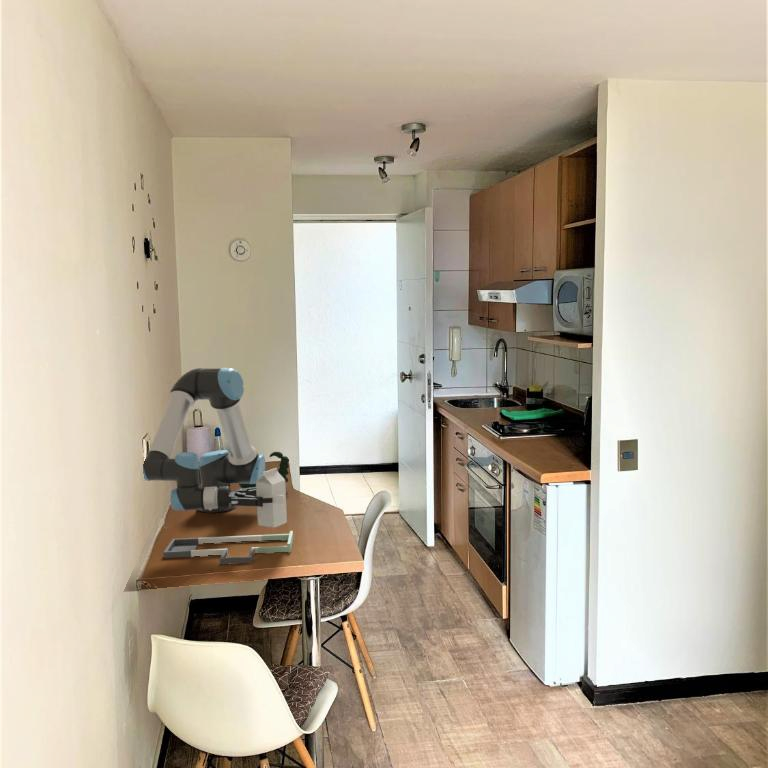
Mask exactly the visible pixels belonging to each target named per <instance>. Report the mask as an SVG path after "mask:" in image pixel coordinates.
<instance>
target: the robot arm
mask: <svg viewBox="0 0 768 768" xmlns="http://www.w3.org/2000/svg"><path fill="white" fill-rule="evenodd" d="M244 388H245V387H244V380H243V377H242V374H241V373H240V372H239V371H238V370H237V369H235V368H230V367H222V368H201V367H200V368H194V369H191V370H189V371H187V372H185V373H183V375H182V376H181V377H180V378H179V379H177V381H176V382H175V383H174V384H173V386H172V388H171V389H170V392H169V395H168V404H167V406H166V408H165V411H164V413H163V415H162V419H161V420H160V423H159V425H158V428H157V430H156V432H155V435H154V438H153V439H152V442H151V445H150V448H149V450H148V452H147V454H146V456H147V457H145V458H146V459H145V461H144V464H143V474H144V479H145V480H144V481H147V482H149V481H165V482H176V488H172V490H171V492H170V505H171V508H172V510H174V511H185V512H186V511H196V510H197V511H199V512H201V513H210V514H211V513H213V514H214V513H222V512H227V511H231V510H233V509H235V508H237V507H238V506H239V507H257V506H258V507H259V506H260V507H263V504H282V503H283V495H270V496H263V497H259V496H257V494H256V487H253V488H236V489H235V491H232V488H231V484H238V485H239V484H256V482H257V481H258V480H259V479H260V478H261V477H262V475H263V472H265V471H266V458H265V456H264V455H263V454H258V451H257V449H256V447H254V446H253V445H252V444H251V441H250V438H249V435H248V431H247V428H246V427H247V426H246V423H245V420H244V417H243V413H242V410H241V407H240V404H239V403H240V401H241V398H242V397H243V395H244V391H245V389H244ZM198 400H200V401H201V400H205V401H207V400H208V402H209V404H210V407H212V408H213V409H214V410H216V413H217V416H218V419H219V422H220V425H221V428H222V432H223V434H224V438H225V441H226V444H227V447H228V450H227V449H220V450H219V449H218V450H215V451H214V450H213V451H210V452H209V451H208V452H205V453H203V454H202V455H201V456H200V457H198V454H197V453H196V452H194V451H193V452H191V451H187V452H179V453H177V454H175V456H174V458H171V456H172V453H173V452H174V449H175V446H176V443H177V440H178V439H179V438H178V437H179V436H180V433H181V430H182V428H183V425H184V423H185V420H186V418H187V415H188V412H189V410H190V409H191V408H192V407H194V405H195V403H196V401H198Z"/></svg>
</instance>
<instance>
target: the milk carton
mask: <svg viewBox="0 0 768 768" xmlns="http://www.w3.org/2000/svg"><path fill="white" fill-rule="evenodd" d="M256 494H257V496H259V497H263V496H270V495H283V503H282V504H263V507H260V506H259V507H258V506H256V508H257V509H256V510H257V511H256V512H257V525H258V526H262V527H267V528H277V527H279V526H283V524H286V523H288V517H287V516H288V515H287V493H286V482H285V479H284V478H283V477H282V476H281V475H280V474H279V472H278V468H277V467H275V468H271V469H269V470H265V472H263V475H262V477H261V478H260V479H259V480H258V481H257V482H256Z"/></svg>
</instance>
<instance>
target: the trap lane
mask: <svg viewBox="0 0 768 768" xmlns="http://www.w3.org/2000/svg"><path fill="white" fill-rule="evenodd" d="M261 540H281V541H287V544H286V545H277V546H276V545H275V546H256V547H255V546H253V547H252V546H251V548H250V550H249V553H248V554H249V556H248V557H227V558H226V556H227V554H228V555H229V551H228V548H226V547H225V548H208V549H207V548H206V549H205V548H204V549H197V548H198V546H197V545H204V544H203V543H214V544H222V543H221V542H236V543H242V542H241V541H259V542H262V541H261ZM293 542H294V530H289V533H279V534H278V533H277V534H276V533H275V534H253V535H251V534H250V535H229V536H207V537H206V536H205V537H204V536H203V537H188V538H187V537H185V538H182V537H181V538H172V539H171V541H170V542H169V544H168V545H167V546H166V548H165V549H164V551H163V552H162V553H163V559H173V558H176V559H177V558H194V556H200V557H209V556H208V555H221V556H220V557H219V565H220V564H228V565H230V564H229V563H250V564H252V563H253V560H254V557H255V554H254V553H266V554H275V553H274V552H288V553H291V552H292V548H293ZM196 547H197V548H196ZM253 556H254V557H253ZM252 559H253V560H252ZM251 562H252V563H251Z"/></svg>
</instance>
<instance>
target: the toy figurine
mask: <svg viewBox="0 0 768 768" xmlns="http://www.w3.org/2000/svg"><path fill="white" fill-rule="evenodd" d="M272 457H276V458H278V459H280V462H279V468H277V471H278V472H279V474H280V475H281V476H282V477H283V478H284V479H285V483H288V482H289V478H288V477H287V475H289V474H290V472H289V469H288V468H290V465H289V462H290V459H289V457H288V456H286V455H284V454H283V453H282V452H281V451H273V452H271V453H270V455H269V458H272ZM238 485H239V487H240V489H242V488H253V487H256V484H238Z"/></svg>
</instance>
